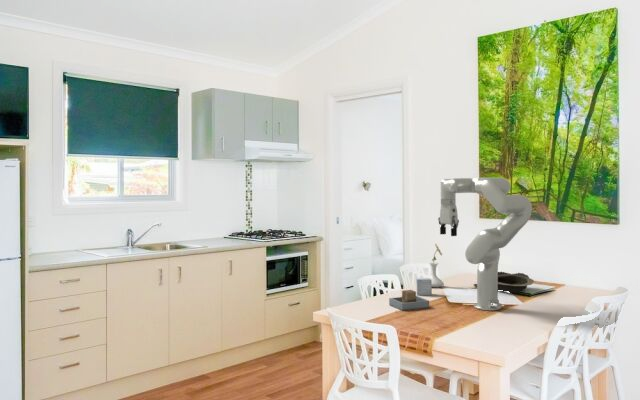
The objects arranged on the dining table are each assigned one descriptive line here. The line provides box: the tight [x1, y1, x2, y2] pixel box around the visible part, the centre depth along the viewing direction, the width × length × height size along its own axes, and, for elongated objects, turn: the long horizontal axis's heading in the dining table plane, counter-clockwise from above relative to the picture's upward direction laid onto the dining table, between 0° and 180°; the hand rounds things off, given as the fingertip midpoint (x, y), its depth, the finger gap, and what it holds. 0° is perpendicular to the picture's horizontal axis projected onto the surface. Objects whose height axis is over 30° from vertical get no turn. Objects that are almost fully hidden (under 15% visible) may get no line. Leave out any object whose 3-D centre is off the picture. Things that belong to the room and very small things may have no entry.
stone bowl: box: [498, 271, 535, 294], centre depth 295 cm, size 25×25×9 cm
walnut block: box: [401, 289, 417, 303], centre depth 263 cm, size 5×5×7 cm
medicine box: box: [415, 277, 433, 296], centre depth 289 cm, size 8×4×9 cm, turn 84°
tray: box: [388, 295, 430, 312], centre depth 263 cm, size 13×15×4 cm
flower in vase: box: [429, 243, 445, 288], centre depth 310 cm, size 13×11×25 cm
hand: (448, 235), depth 278 cm, fingers open, 9 cm apart
